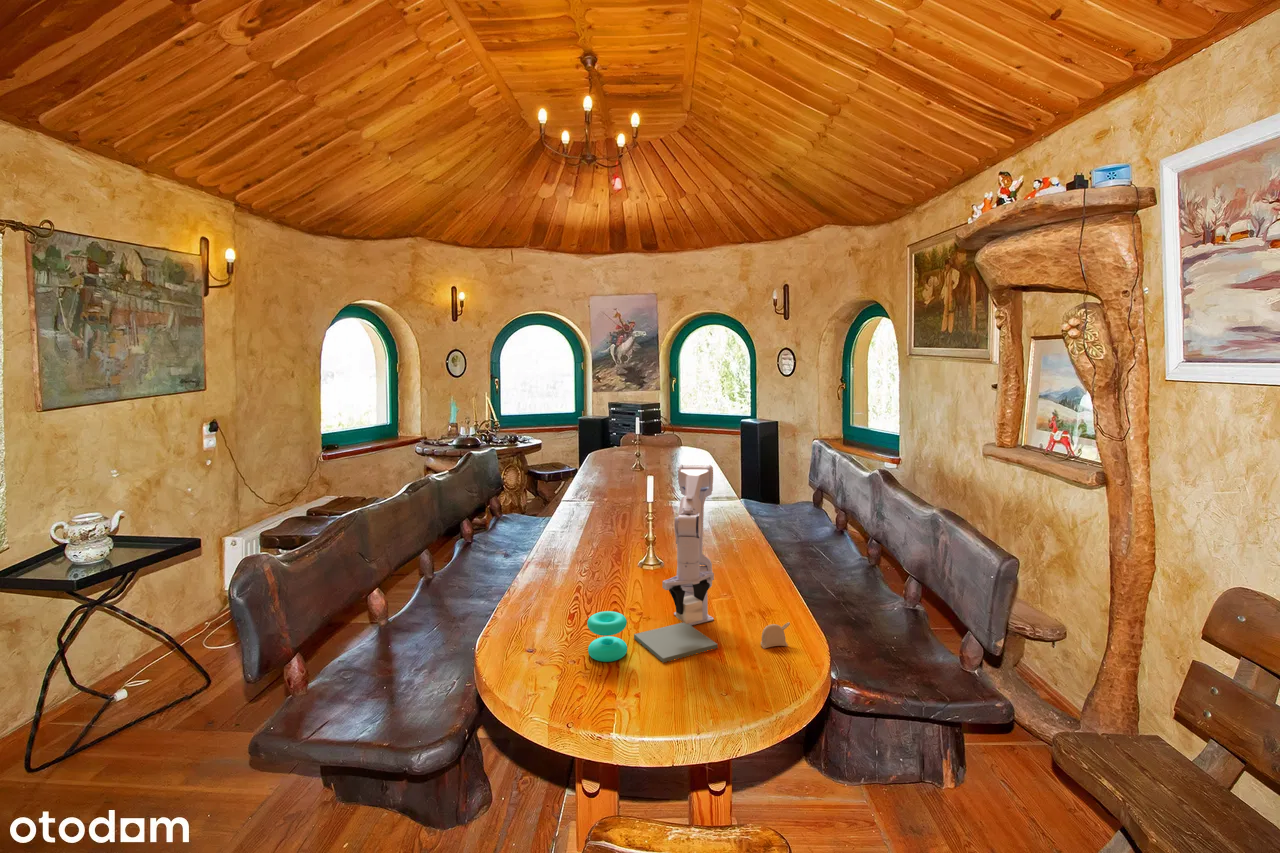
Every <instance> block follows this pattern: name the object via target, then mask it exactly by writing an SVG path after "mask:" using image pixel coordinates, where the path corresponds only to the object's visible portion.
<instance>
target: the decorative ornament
mask: <svg viewBox="0 0 1280 853" xmlns="http://www.w3.org/2000/svg"><path fill="white" fill-rule="evenodd" d="M790 625H791V623H790V622H789V621H788V622H786V623H785V624H783V625H782V626H781V625H779V624H775V623H772V624H768V625H766V626H765V627H764V629H763V630H762V633H761V641H760V646H761V647H762V649H763V650H764V649H767V648H771V647H772V648H773V647H777V646H783V647H788V646H789V644H788V643H787V641H786V640H787V639H786V634H785V631H784V630H786V629H787V628H788V627H789V626H790Z"/></svg>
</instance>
